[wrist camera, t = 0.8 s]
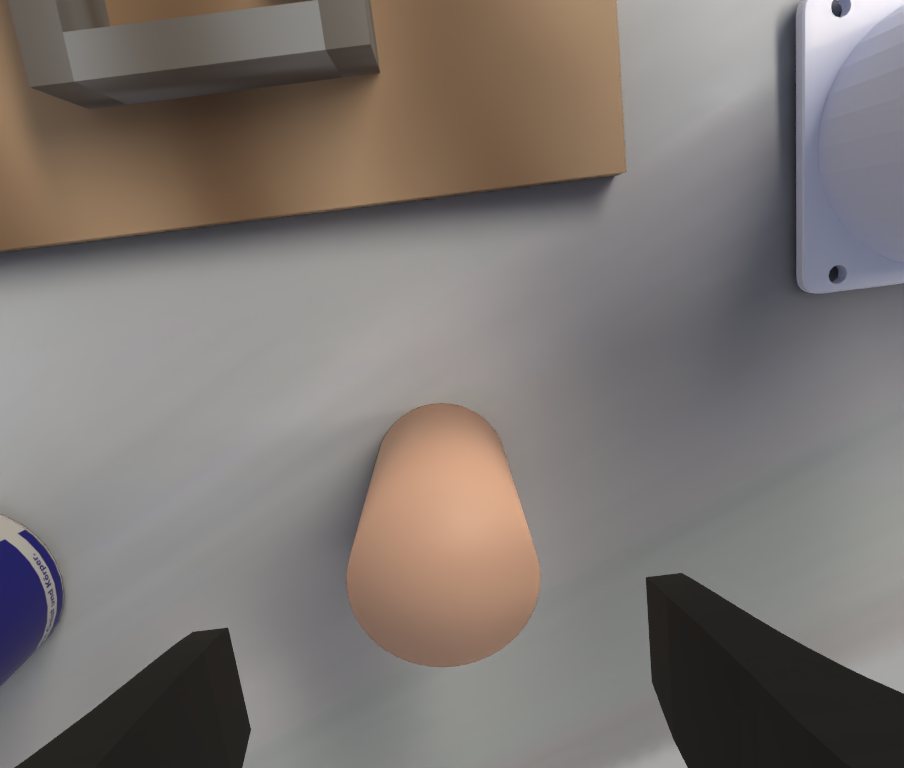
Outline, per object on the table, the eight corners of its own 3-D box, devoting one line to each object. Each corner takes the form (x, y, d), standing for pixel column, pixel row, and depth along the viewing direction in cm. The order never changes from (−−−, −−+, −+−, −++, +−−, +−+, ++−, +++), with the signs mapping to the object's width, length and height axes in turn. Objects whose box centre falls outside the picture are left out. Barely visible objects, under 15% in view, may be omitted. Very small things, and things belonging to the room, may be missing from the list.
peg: (498, 395, 20) (530, 479, 13) (511, 516, 20) (548, 654, 14) (368, 411, 20) (331, 503, 13) (387, 531, 21) (362, 677, 14)
